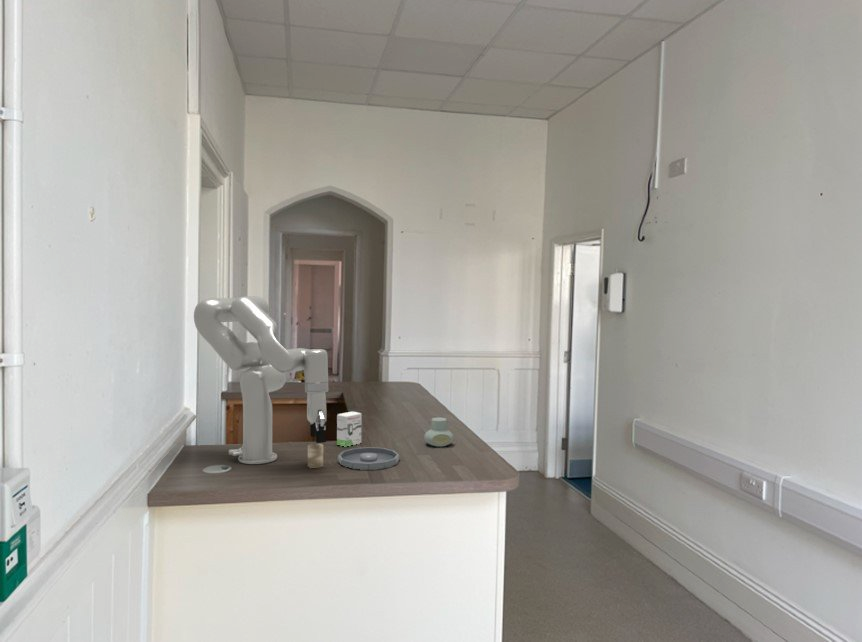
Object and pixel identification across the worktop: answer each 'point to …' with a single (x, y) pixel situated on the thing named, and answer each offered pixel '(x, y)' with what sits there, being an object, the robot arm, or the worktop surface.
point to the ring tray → (368, 458)
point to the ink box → (349, 428)
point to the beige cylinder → (315, 455)
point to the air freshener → (438, 433)
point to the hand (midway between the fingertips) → (318, 439)
